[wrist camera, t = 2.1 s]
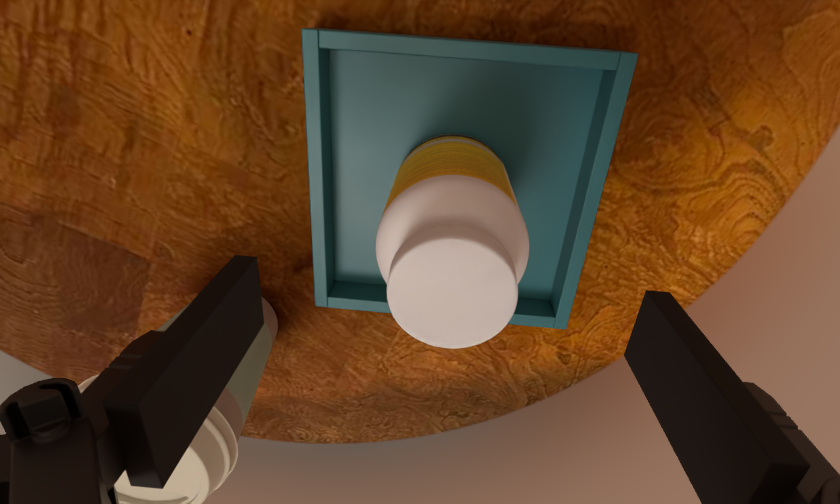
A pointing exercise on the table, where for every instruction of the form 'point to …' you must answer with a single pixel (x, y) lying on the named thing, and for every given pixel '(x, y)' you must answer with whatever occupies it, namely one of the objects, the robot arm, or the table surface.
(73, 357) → the table surface
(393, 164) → the tray
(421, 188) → the pill bottle
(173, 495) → the coffee cup
